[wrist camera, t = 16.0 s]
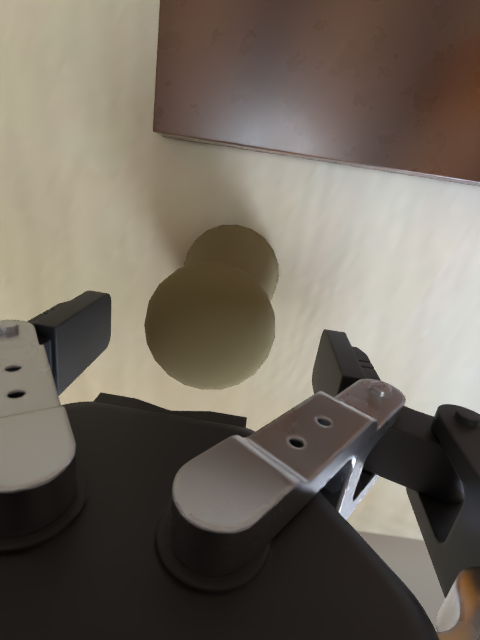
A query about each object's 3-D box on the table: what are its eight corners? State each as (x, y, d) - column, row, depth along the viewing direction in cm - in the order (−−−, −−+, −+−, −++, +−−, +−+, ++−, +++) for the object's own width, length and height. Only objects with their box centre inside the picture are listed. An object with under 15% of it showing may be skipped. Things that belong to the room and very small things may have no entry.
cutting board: (162, 136, 21) (152, 131, 19) (182, -171, 16) (171, -216, 15) (581, 202, 21) (613, 204, 19) (718, -92, 16) (777, -128, 14)
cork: (228, 203, 22) (194, 221, 12) (298, 271, 23) (324, 343, 13) (166, 274, 24) (89, 344, 13) (234, 334, 25) (211, 441, 15)
